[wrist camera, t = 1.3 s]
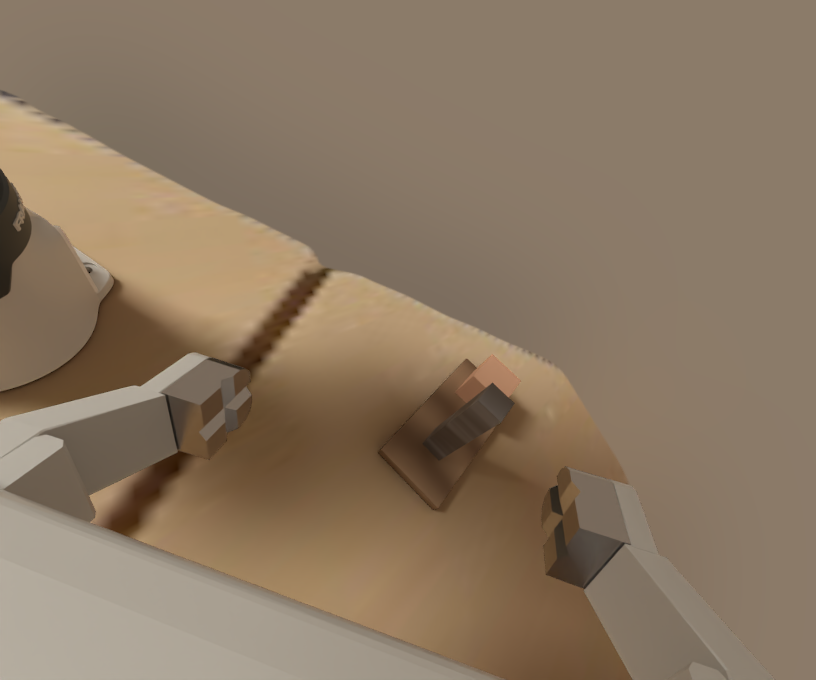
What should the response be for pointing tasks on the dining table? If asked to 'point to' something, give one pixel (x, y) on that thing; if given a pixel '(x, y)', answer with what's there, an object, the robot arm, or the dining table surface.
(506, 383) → the terracotta block
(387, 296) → the dining table surface
